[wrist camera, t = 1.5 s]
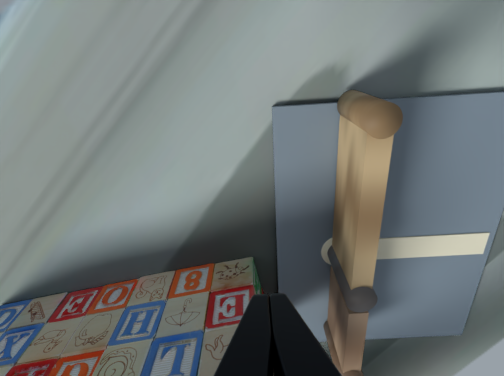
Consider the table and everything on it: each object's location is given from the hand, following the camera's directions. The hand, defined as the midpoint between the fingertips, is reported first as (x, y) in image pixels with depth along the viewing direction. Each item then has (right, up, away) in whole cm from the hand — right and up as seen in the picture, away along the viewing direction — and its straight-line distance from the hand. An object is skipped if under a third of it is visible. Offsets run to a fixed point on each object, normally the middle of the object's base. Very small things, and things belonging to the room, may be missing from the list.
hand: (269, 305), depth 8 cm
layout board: (+9, -1, +14) cm, 17 cm away
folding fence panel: (+6, +3, +12) cm, 13 cm away
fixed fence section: (+6, -5, +16) cm, 18 cm away
